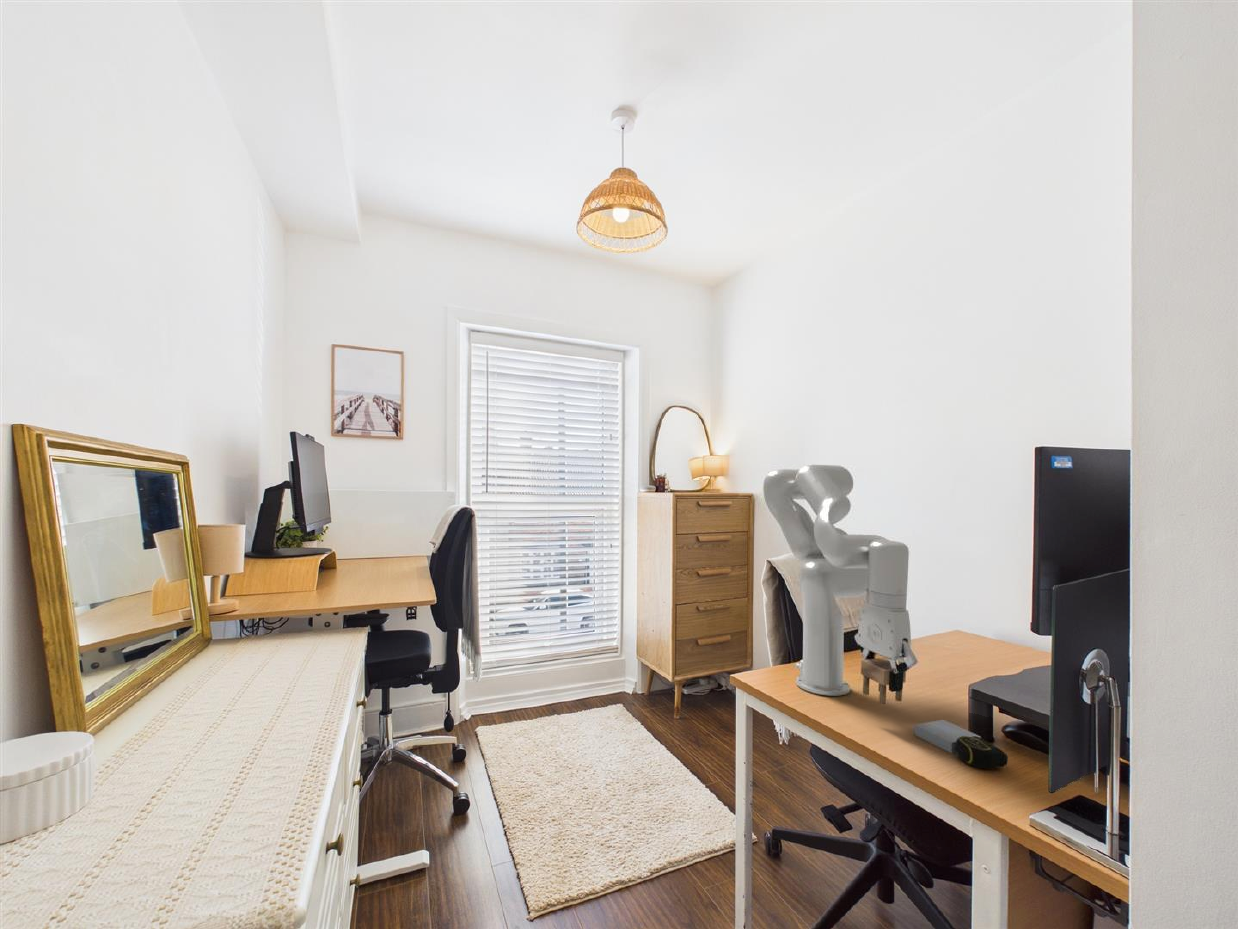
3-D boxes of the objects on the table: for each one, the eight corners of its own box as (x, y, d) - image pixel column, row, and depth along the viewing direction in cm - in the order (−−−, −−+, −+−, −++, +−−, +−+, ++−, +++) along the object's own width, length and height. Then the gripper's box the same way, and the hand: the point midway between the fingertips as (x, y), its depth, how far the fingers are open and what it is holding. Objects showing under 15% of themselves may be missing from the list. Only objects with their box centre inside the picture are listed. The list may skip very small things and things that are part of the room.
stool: (860, 692, 115) (861, 660, 115) (881, 689, 118) (882, 657, 117) (882, 705, 110) (884, 671, 110) (904, 701, 112) (906, 668, 112)
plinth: (914, 734, 109) (914, 724, 109) (943, 729, 111) (943, 719, 111) (951, 753, 101) (951, 742, 101) (981, 747, 104) (981, 736, 104)
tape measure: (1010, 772, 95) (1010, 751, 95) (975, 774, 94) (975, 752, 94) (979, 753, 102) (979, 733, 102) (946, 755, 101) (946, 734, 101)
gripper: (842, 590, 120) (838, 670, 120) (907, 612, 104) (903, 704, 104) (868, 588, 123) (864, 666, 123) (936, 609, 107) (931, 699, 107)
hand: (882, 683), depth 114 cm, fingers closed on stool, 6 cm apart
